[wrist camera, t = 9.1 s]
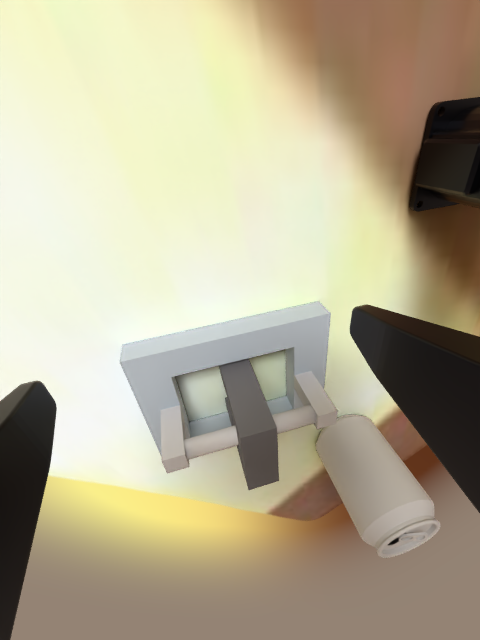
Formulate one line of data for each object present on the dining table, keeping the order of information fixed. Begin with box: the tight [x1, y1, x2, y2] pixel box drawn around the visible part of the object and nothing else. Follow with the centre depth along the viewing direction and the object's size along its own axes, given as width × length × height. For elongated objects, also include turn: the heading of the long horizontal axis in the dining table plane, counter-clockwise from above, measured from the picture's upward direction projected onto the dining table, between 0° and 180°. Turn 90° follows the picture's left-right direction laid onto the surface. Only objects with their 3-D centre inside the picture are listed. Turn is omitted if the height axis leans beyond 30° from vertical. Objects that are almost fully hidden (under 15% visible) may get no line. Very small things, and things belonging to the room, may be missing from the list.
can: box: [316, 414, 440, 558], centre depth 31 cm, size 8×8×12 cm
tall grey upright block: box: [219, 358, 279, 490], centre depth 23 cm, size 2×7×8 cm, turn 6°
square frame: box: [120, 301, 338, 473], centre depth 24 cm, size 16×13×6 cm
